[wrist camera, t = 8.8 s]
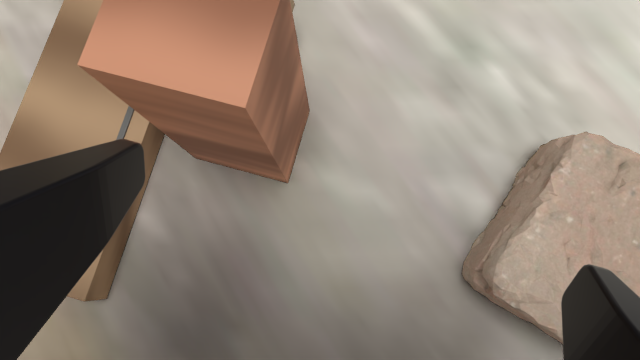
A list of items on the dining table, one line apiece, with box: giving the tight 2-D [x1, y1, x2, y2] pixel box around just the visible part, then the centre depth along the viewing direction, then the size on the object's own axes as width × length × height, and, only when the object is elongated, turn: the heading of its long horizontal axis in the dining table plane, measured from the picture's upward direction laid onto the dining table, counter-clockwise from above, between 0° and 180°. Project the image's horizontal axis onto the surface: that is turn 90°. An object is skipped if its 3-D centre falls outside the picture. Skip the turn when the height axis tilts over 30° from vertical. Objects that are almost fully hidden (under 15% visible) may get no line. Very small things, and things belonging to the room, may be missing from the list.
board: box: [0, 0, 164, 301], centre depth 24 cm, size 22×6×2 cm, turn 165°
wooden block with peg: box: [77, 0, 310, 183], centre depth 19 cm, size 8×5×11 cm, turn 164°
